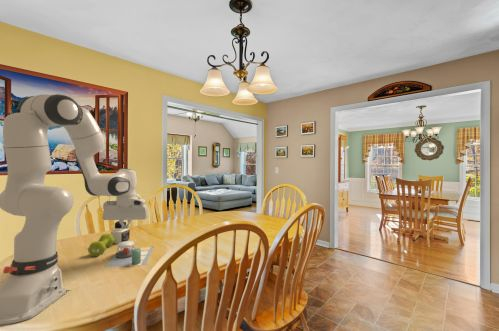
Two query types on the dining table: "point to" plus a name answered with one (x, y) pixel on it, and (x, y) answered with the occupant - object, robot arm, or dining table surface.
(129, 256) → the game board
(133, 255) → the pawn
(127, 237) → the medicine bottle
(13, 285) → the robot arm
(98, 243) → the dumbbell
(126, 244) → the dome
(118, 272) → the dining table surface
